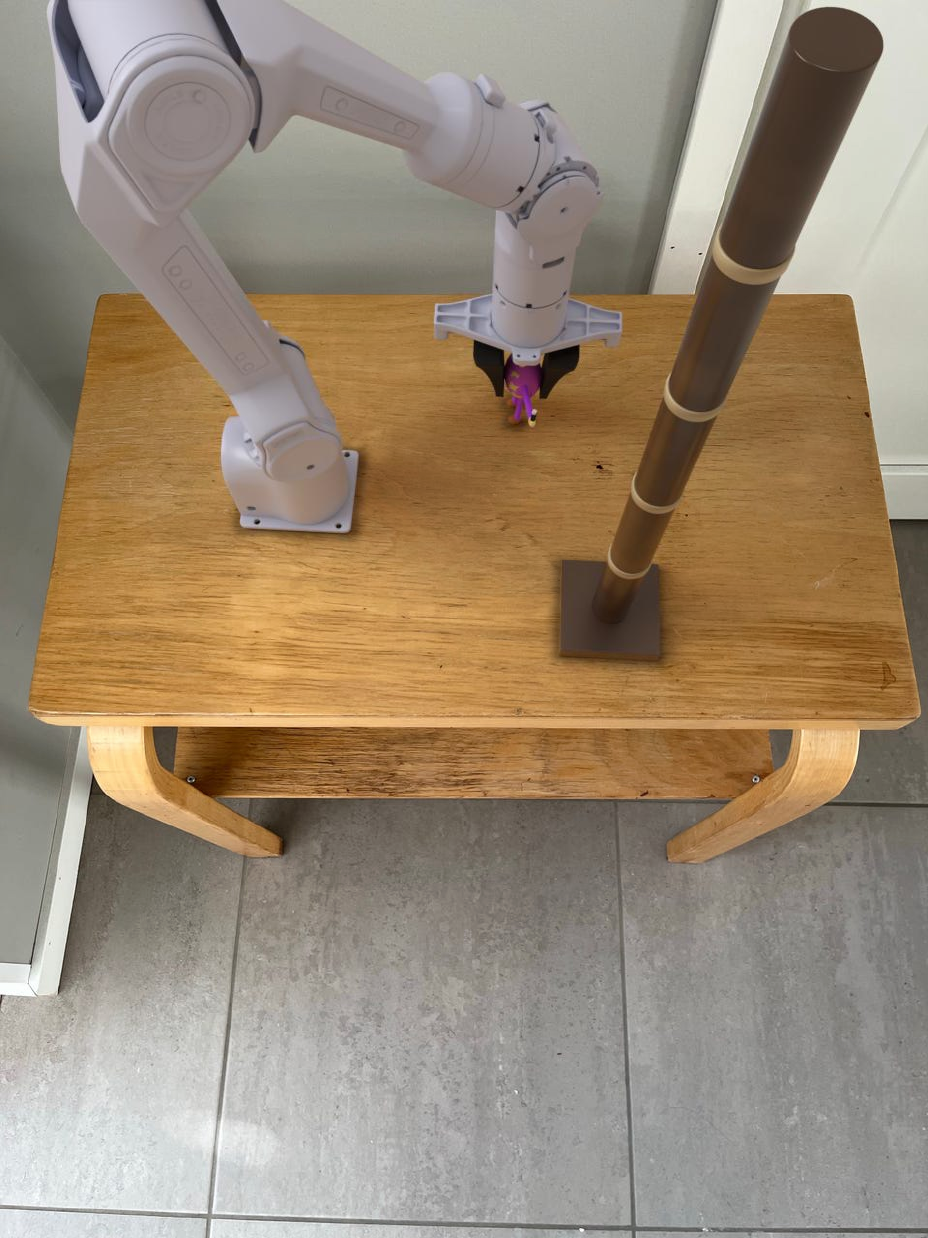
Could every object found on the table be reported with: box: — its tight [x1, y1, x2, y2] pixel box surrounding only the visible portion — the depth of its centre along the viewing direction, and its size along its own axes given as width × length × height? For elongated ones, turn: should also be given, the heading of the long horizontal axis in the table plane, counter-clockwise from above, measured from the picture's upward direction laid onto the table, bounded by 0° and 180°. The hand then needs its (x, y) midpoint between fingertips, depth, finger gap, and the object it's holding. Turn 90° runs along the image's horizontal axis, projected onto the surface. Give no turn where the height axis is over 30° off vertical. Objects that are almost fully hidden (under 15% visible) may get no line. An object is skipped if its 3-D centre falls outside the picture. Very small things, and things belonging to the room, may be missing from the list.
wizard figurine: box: [504, 352, 542, 428], centre depth 77 cm, size 11×3×12 cm, turn 9°
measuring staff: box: [558, 6, 885, 662], centre depth 52 cm, size 8×8×50 cm
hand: (521, 388), depth 79 cm, fingers closed on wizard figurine, 3 cm apart
